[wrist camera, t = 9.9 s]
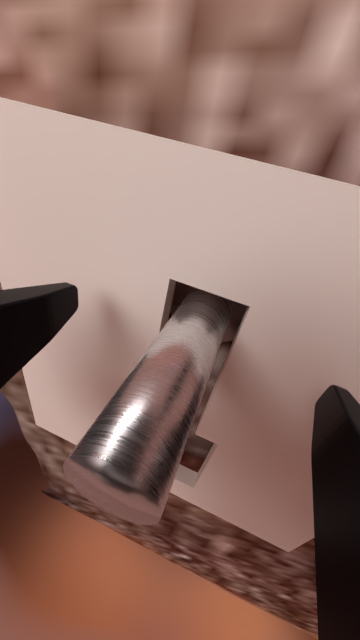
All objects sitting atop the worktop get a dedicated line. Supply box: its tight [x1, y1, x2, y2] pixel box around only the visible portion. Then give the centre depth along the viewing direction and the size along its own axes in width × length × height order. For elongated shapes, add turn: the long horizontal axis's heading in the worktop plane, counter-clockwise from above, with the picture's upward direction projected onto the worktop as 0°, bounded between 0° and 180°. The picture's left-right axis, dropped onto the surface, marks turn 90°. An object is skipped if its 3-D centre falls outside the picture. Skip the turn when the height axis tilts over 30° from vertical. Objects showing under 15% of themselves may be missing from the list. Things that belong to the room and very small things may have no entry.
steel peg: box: [63, 281, 248, 525], centre depth 8 cm, size 4×4×9 cm
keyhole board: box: [0, 97, 360, 552], centre depth 13 cm, size 20×20×3 cm
